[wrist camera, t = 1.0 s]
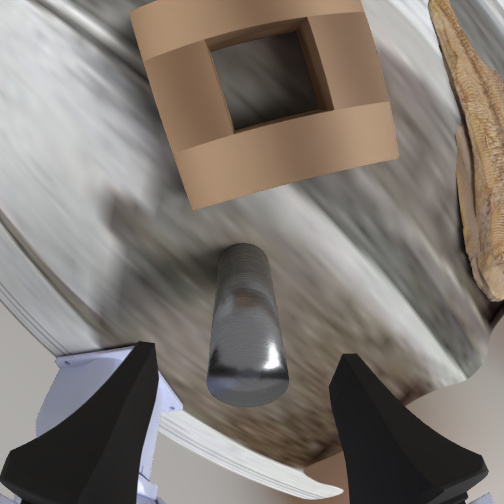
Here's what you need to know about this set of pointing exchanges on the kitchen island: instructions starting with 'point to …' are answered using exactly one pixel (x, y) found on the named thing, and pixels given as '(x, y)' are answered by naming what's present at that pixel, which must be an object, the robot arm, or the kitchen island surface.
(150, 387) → the robot arm
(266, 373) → the steel peg
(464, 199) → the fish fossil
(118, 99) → the kitchen island surface
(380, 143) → the walnut hole block
